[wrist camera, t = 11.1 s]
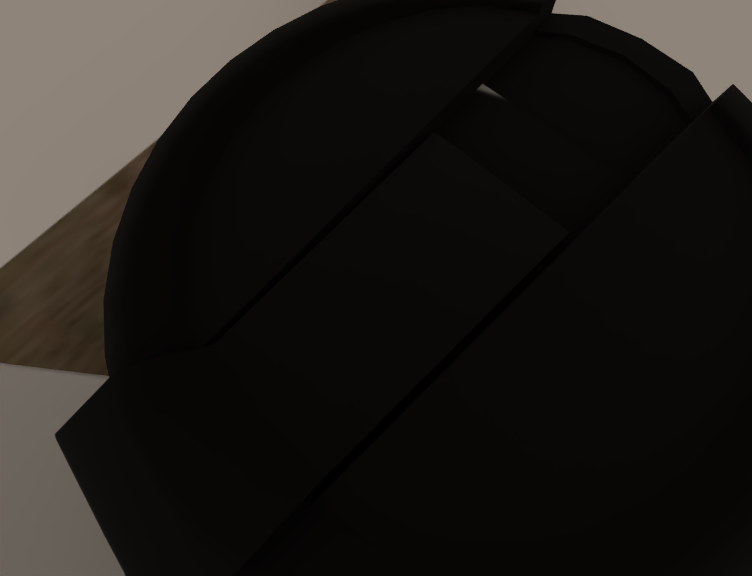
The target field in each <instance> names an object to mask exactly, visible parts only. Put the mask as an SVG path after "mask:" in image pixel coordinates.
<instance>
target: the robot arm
mask: <svg viewBox="0 0 752 576" xmlns="http://www.w3.org/2000/svg"><path fill="white" fill-rule="evenodd" d="M108 378H109V376H105V375H97V374H88V373H80V372H72V371H63V370H55V369H47V368H38V367H30V366H21V365H13V364H5V363H0V576H125V574H124V572H123V570H122V568H121V566H120V564H119V563H118V561H117V559H116V557H115V555H114V553H113V551H112V549H111V547H110V546H109V544H108V542H107V540H106V538H105V536H104V534H103V532H102V530H101V528H100V526H99V524H98V522H97V520H96V518H95V516H94V514H93V512H92V510H91V508H90V506H89V504H88V502H87V500H86V498H85V496H84V494H83V492H82V491H81V489H80V487H79V485H78V483H77V481H76V479H75V477H74V475H73V473H72V471H71V469H70V467H69V465H68V463H67V461H66V459H65V457H64V455H63V453H62V451H61V449H60V447H59V445H58V443H57V441H56V438H55V433H56V432H57V431H58V430H59V429H60V428H61V427H62V426H63V425H64V424H65V423H66V422H67V421H68V420H69V419H70V418H71V417H72V416H73V415H74V414H75V412H76V411H77V410H78V409H79V408H80V407H81V406H82V405H83V404H84V403H85V402H86V401H87V400H88V399H89V398H90V397H91V396H92V395H93V394H94V393H95V392H96V391H97V390H98V389H99V388H100V387H101V386H102V385H103V384H104V382H105V381H106V380H107V379H108Z"/></svg>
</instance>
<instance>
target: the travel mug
mask: <svg viewBox="0 0 752 576" xmlns="http://www.w3.org/2000/svg"><path fill="white" fill-rule="evenodd" d="M555 1H556V0H338V1H335V2H332V3H329V4H326V5H323V6H320V7H318V8H316V9H314V10H312V11H310V12H309V13H307V14H304V15H302V16H301V17H299V18H297V19H295V20H293V21H291V22H289V23H287V24H285V25H283V26H281V27H279V28H277V29H275V30H273V31H272V32H270V33H269V34H268V35H266V36H265V37H263V38H262V39H260V40H259V41H257V42H256V43H255V44H253V45H252V46H250V47H249V48H248V49H246V50H245V51H243V52H242V53H240V54H239V55H237V56H236V57H234V58H233V59H232V60H230V61H229V62H228V63H227V64H226V65H225V66H224V67H223V68H222V69H221V70H220V71H219V72H218V73H216V74H215V75H214V76H213V77H212V78H211V79H210V80H209V81H208V82H207V83H206V84H205V85H204V86H203V87H202V88H201V89H200V90H199V91H197V92H196V93H195V94H194V95H193V96H192V97H191V98H190V100H189V101H188V102H187V104H186V105H185V106H184V108H183V109H182V110H181V111H180V113H179V114H178V115H177V117H176V118H175V119H174V120H173V122H172V123H171V124H170V126H169V127H168V128H167V129H166V131H165V132H164V133H163V134H162V136H161V137H160V138H159V140H158V141H157V143H156V145H155V147H154V149H153V151H152V152H151V154H150V156H149V158H148V160H147V161H146V163H145V165H144V167H143V169H142V171H141V172H140V174H139V176H138V178H137V180H136V182H135V183H134V185H133V187H132V189H131V192H130V195H129V198H128V201H127V204H126V206H125V209H124V212H123V215H122V218H121V221H120V224H119V227H118V229H117V232H116V235H115V238H114V241H113V246H112V252H111V258H110V264H109V271H108V277H107V283H106V289H105V296H104V339H105V358H106V363H107V368H108V373H109V378H108V379H107V380H106V381H105V382H104V384H103V385H102V386H101V387H100V388H99V389H98V390H97V391H96V392H95V393H94V394H93V395H92V396H91V397H90V398H89V399H88V400H87V401H86V402H85V403H84V404H83V405H82V406H81V407H80V408H79V409H78V410H77V411H76V412H75V414H74V415H73V416H72V417H71V418H70V419H69V420H68V421H67V422H66V423H65V424H64V425H63V426H62V427H61V428H60V429H59V430H58V431H57V432H56V433H55V438H56V441H57V443H58V445H59V447H60V449H61V451H62V453H63V455H64V457H65V459H66V461H67V463H68V465H69V467H70V469H71V471H72V473H73V475H74V477H75V479H76V481H77V483H78V485H79V487H80V489H81V491H82V492H83V494H84V496H85V498H86V500H87V502H88V504H89V506H90V508H91V510H92V512H93V514H94V516H95V518H96V520H97V522H98V524H99V526H100V528H101V530H102V532H103V534H104V536H105V538H106V540H107V542H108V544H109V546H110V547H111V549H112V551H113V553H114V555H115V557H116V559H117V561H118V563H119V564H120V566H121V568H122V570H123V572H124V574H125V576H752V102H751V101H750V100H749V99H748V98H747V97H746V96H745V95H744V94H743V93H742V92H741V91H740V90H739V89H738V88H737V87H736V86H735V85H734V84H733V85H731V86H730V87H729V88H728V89H727V90H726V91H725V92H724V93H722V94H721V95H720V96H719V97H718V98H717V99H716V100H714V101H713V102H712V101H711V99H710V98H709V96H708V95H707V93H706V92H705V90H704V89H703V87H702V85H701V84H700V82H699V81H698V79H697V78H696V76H695V75H694V73H693V72H692V71H690V70H688V69H687V68H685V67H684V66H682V65H681V64H679V63H678V62H676V61H675V60H673V59H672V58H670V57H669V56H667V55H666V54H664V53H662V52H661V51H659V50H658V49H656V48H655V47H653V46H652V45H650V44H649V43H647V42H646V41H644V40H643V39H641V38H638V37H636V36H633V35H631V34H629V33H627V32H624V31H622V30H619V29H617V28H615V27H612V26H610V25H608V24H605V23H603V22H601V21H598V20H596V19H593V18H591V17H588V16H582V15H568V14H554V13H552V10H553V7H554V4H555Z"/></svg>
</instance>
